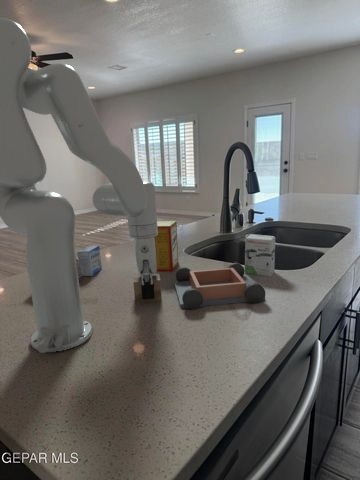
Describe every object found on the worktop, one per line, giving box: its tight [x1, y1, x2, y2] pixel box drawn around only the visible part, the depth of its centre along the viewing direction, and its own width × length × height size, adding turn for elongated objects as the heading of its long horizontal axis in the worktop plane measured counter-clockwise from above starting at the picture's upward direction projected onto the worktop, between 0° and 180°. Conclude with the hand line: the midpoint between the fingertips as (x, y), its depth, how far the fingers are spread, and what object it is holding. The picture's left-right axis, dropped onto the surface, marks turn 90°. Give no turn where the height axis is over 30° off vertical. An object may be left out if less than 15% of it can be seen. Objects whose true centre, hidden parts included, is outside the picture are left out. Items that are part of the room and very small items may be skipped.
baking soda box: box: [154, 220, 180, 273], centre depth 115 cm, size 10×6×16 cm
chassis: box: [173, 262, 266, 310], centre depth 92 cm, size 19×22×5 cm
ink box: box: [244, 233, 276, 277], centre depth 106 cm, size 9×5×12 cm, turn 60°
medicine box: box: [77, 245, 103, 277], centre depth 114 cm, size 8×4×9 cm, turn 168°
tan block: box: [132, 273, 163, 304], centre depth 90 cm, size 5×7×7 cm
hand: (148, 291), depth 91 cm, fingers open, 8 cm apart
